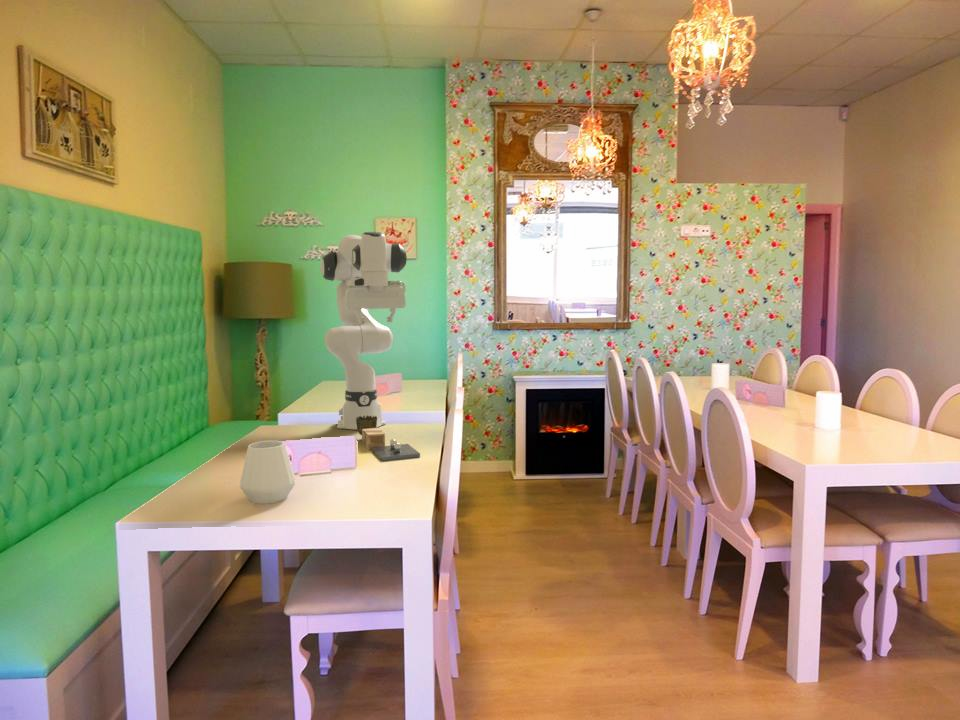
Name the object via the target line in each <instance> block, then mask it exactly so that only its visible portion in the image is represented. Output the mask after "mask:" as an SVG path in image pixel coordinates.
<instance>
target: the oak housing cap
mask: <svg viewBox="0 0 960 720" xmlns="http://www.w3.org/2000/svg"><path fill="white" fill-rule="evenodd" d="M361 439H362V440H361V443H362V445H364V447H365V448H366V449H367V450H368V451H372V447H380V446H386V434H385V432H384V431H383V430H382V429H380V428H379V427H376V428H367V429H362V435H361Z"/></svg>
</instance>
